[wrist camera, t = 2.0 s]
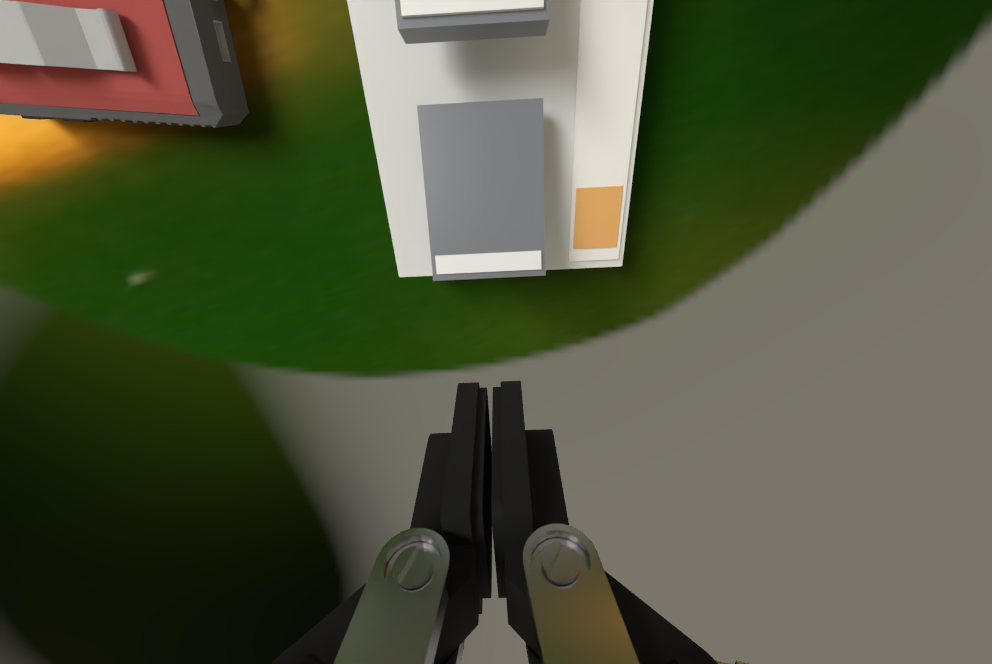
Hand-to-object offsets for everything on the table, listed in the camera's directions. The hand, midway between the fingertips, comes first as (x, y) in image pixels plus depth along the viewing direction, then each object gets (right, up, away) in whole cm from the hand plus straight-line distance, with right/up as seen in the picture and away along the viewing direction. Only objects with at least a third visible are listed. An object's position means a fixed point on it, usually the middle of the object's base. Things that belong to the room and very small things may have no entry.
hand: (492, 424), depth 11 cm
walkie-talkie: (-22, +18, +9) cm, 29 cm away
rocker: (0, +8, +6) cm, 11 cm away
